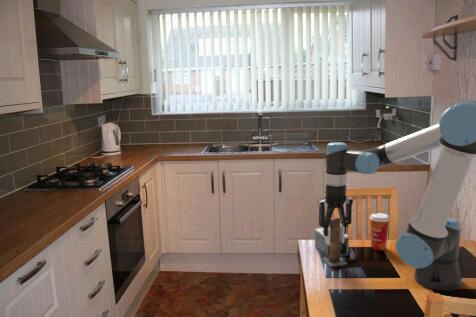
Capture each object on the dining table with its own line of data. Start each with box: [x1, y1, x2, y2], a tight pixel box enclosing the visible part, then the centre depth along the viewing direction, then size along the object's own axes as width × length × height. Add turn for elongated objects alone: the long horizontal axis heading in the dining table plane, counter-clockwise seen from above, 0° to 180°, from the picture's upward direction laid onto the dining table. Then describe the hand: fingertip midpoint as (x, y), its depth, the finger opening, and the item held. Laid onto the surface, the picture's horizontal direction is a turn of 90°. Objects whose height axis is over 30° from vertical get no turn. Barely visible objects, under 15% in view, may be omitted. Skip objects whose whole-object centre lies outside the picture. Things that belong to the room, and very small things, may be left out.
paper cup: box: [369, 212, 390, 251], centre depth 182 cm, size 8×8×14 cm
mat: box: [321, 257, 348, 268], centre depth 170 cm, size 7×7×1 cm
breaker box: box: [314, 226, 350, 258], centre depth 180 cm, size 12×9×8 cm
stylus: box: [329, 216, 341, 263], centre depth 168 cm, size 4×4×17 cm
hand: (334, 242), depth 168 cm, fingers open, 5 cm apart
